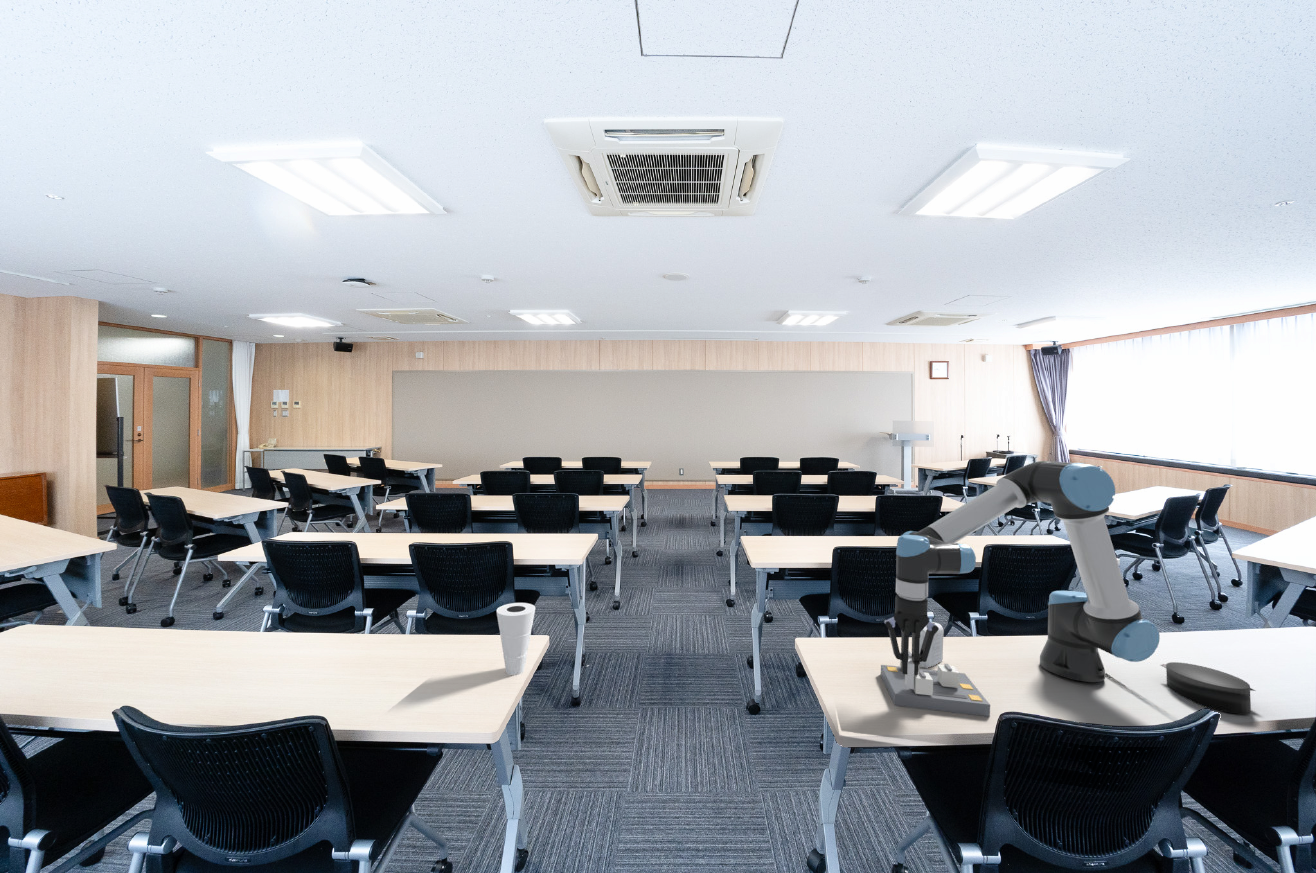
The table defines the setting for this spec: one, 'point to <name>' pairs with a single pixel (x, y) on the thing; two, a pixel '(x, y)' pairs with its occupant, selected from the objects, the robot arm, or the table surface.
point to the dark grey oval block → (1209, 687)
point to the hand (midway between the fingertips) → (909, 686)
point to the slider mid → (948, 676)
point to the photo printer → (933, 647)
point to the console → (936, 694)
